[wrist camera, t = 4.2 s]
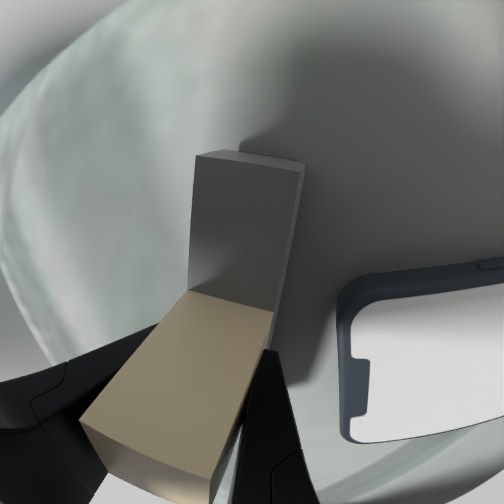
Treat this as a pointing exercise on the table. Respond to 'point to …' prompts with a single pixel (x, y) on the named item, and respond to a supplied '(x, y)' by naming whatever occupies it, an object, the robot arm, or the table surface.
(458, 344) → the smartphone
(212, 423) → the scraper
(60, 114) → the table surface
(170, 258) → the table surface
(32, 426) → the robot arm
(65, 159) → the table surface
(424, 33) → the table surface
